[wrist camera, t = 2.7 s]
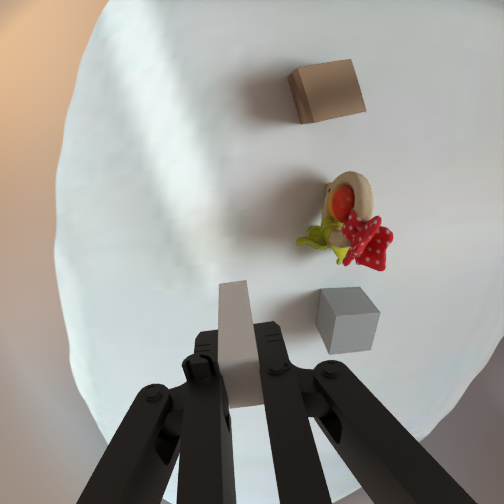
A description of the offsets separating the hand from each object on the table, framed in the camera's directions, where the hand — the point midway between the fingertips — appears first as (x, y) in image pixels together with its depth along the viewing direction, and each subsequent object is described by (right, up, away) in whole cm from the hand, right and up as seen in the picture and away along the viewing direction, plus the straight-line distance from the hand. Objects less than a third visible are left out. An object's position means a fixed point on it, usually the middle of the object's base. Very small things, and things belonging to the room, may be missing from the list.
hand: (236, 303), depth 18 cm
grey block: (+11, -4, +19) cm, 23 cm away
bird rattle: (+9, +7, +15) cm, 19 cm away
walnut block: (+7, +18, +11) cm, 23 cm away
